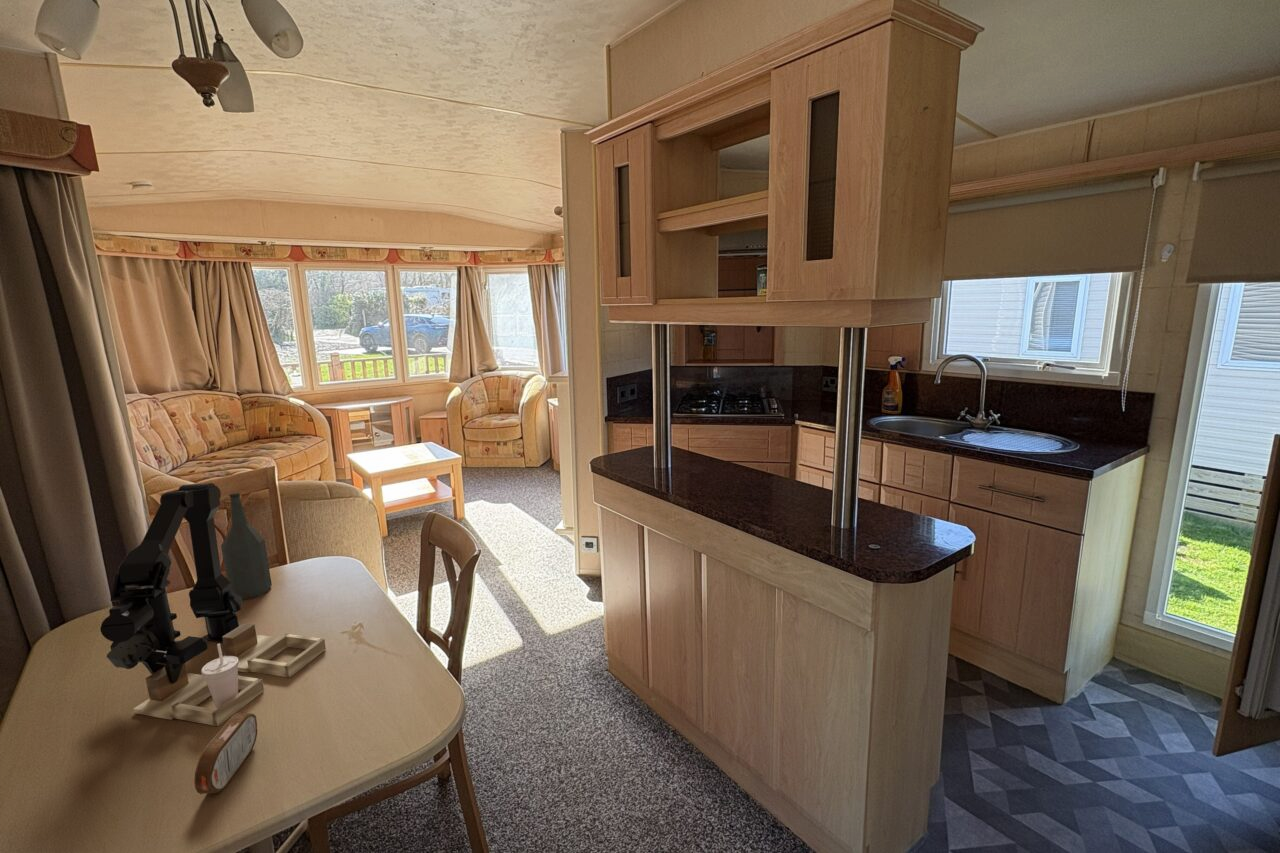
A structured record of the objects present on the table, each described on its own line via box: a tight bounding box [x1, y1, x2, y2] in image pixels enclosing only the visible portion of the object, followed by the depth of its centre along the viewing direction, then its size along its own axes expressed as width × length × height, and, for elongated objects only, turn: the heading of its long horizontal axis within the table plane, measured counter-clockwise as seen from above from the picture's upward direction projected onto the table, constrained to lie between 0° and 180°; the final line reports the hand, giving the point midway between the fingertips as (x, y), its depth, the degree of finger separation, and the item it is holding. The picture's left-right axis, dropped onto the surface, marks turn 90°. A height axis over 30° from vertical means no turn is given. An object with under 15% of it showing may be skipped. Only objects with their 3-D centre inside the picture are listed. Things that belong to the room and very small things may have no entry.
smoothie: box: [200, 643, 239, 710], centre depth 122 cm, size 6×6×14 cm
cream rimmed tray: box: [133, 663, 265, 727], centre depth 125 cm, size 20×12×6 cm, turn 77°
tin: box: [193, 712, 258, 795], centre depth 106 cm, size 15×3×8 cm, turn 5°
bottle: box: [220, 491, 273, 600], centre depth 169 cm, size 10×10×30 cm
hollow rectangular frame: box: [222, 622, 327, 678], centre depth 139 cm, size 20×12×6 cm, turn 77°
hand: (167, 681), depth 126 cm, fingers open, 3 cm apart
